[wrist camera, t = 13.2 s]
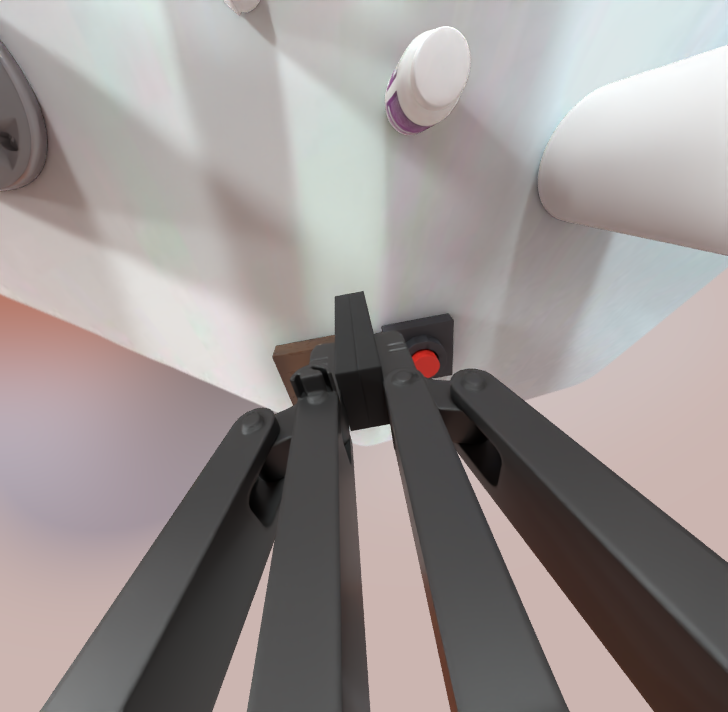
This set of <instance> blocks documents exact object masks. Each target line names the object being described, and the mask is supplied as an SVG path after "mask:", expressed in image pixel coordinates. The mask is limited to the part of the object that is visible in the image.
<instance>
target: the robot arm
mask: <svg viewBox="0 0 728 712" xmlns="http://www.w3.org/2000/svg"><path fill="white" fill-rule="evenodd" d="M46 155H47V133H46V128H45V123H44V119H43V115H42V113H41V110H40V107H39V104H38V102H37V99H36V97H35V95H34V92H33V90H32V88H31V86H30V85H29V83H28V81H27V79H26V77H25V75H24V74H23V72H22V70H21V69H20V67H19V66H18V64H17V63H16V61H15V60H14V58H13V57H12V55H11V54H10V52H9V51H8V50H7V48H6V47H5V46H4V44H3V43H2V42H1V41H0V191H7V190H14V189H18V188H21V187H23V186H26V185H28V184H29V183H31V182H32V181H33V180H34V179H35V178H36V177H37V176H38V175H39V174H40V172H41V170H42V168H43V166H44V163H45V160H46ZM290 382H291V385H292V387H293V390H294V392H295V394H296V397H297V399H298V400H297V403H296V404H295V405H294V406H292V407H290V408H288V409H286V410H284V411H281V412H279V413H277V414H274V413H273V411H271V410H270V409H268V408H257V409H254V410H251V411H249V412H247V413H245V414H244V415H242V416H241V417H240V418H239V419H238V420H237V421H236V422H235V423H234V425H233V426H232V428H231V429H230V430H229V432H228V434H227V435H226V436H225V438H224V439H223V441H222V442H221V444H220V445H219V447H218V448H217V450H216V451H215V453H214V454H213V456H212V457H211V459H210V460H209V462H208V463H207V465H206V466H205V467H204V469H203V470H202V472H201V473H200V475H199V476H198V478H197V479H196V481H195V482H194V484H193V485H192V487H191V488H190V490H189V491H188V493H187V494H186V496H185V497H184V499H183V500H182V502H181V503H180V504H179V506H178V508H177V509H176V510H175V512H174V513H173V515H172V516H171V518H170V519H169V521H168V522H167V524H166V525H165V527H164V528H163V530H162V531H161V533H160V534H159V536H158V537H157V539H156V540H155V542H154V543H153V545H152V546H151V547H150V549H149V551H148V552H147V553H146V555H145V556H144V558H143V559H142V561H141V562H140V564H139V565H138V567H137V568H136V570H135V571H134V573H133V574H132V576H131V577H130V579H129V580H128V582H127V583H126V585H125V586H124V588H123V589H122V591H121V592H120V593H119V595H118V596H117V598H116V600H115V601H114V602H113V604H112V605H111V607H110V608H109V610H108V611H107V613H106V614H105V616H104V617H103V619H102V620H101V622H100V623H99V625H98V626H97V628H96V629H95V630H94V632H93V633H92V635H91V636H90V638H89V639H88V641H87V642H86V644H85V645H84V647H83V648H82V650H81V651H80V653H79V654H78V656H77V657H76V659H75V660H74V662H73V663H72V665H71V666H70V668H69V669H68V671H67V672H66V673H65V675H64V676H63V678H62V679H61V681H60V682H59V684H58V685H57V687H56V688H55V690H54V691H53V693H52V694H51V696H50V697H49V699H48V700H47V702H46V703H45V705H44V706H43V708H42V709H41V710H40V712H212V710H213V708H214V705H215V702H216V699H217V697H218V694H219V691H220V688H221V686H222V683H223V680H224V677H225V675H226V672H227V669H228V666H229V664H230V661H231V658H232V655H233V653H234V650H235V647H236V644H237V642H238V639H239V636H240V633H241V631H242V628H243V625H244V622H245V620H246V617H247V614H248V611H249V609H250V606H251V603H252V600H253V598H254V595H255V592H256V590H257V587H258V584H259V581H260V579H261V576H262V573H263V570H264V568H265V565H266V562H267V559H268V557H269V554H270V551H271V548H272V546H273V543H274V548H273V555H272V560H271V566H270V572H269V579H268V585H267V592H266V597H265V603H264V609H263V616H262V622H261V628H260V634H259V641H258V647H257V653H256V659H255V665H254V671H253V678H252V684H251V690H250V696H249V702H248V709H247V712H370V701H369V687H368V686H369V685H368V670H367V657H366V656H367V655H366V641H365V627H364V610H363V596H362V583H361V582H362V581H361V567H360V551H359V536H358V522H357V507H356V491H355V478H354V461H353V446H352V441H351V437H350V432H349V426H350V430H351V431H354V430H359V429H365V428H370V427H376V426H381V425H387V424H390V426H391V432H392V438H393V444H394V449H395V452H396V456H397V461H398V466H399V471H400V475H401V480H402V484H403V489H404V494H405V499H406V503H407V508H408V513H409V517H410V522H411V527H412V531H413V536H414V541H415V546H416V550H417V555H418V560H419V564H420V569H421V574H422V578H423V583H424V588H425V592H426V597H427V602H428V607H429V611H430V616H431V620H432V625H433V630H434V634H435V639H436V644H437V649H438V653H439V658H440V663H441V667H442V672H443V676H444V682H445V686H446V691H447V696H448V700H449V705H450V710H451V712H570V711H569V709H568V707H567V705H566V703H565V701H564V698H563V696H562V694H561V691H560V689H559V687H558V684H557V682H556V680H555V677H554V675H553V673H552V671H551V668H550V666H549V664H548V661H547V659H546V657H545V654H544V652H543V650H542V647H541V645H540V643H539V640H538V638H537V636H536V634H535V632H534V629H533V627H532V624H531V622H530V620H529V617H528V615H527V613H526V611H525V608H524V606H523V604H522V601H521V599H520V597H519V594H518V592H517V590H516V587H515V585H514V583H513V581H512V578H511V576H510V574H509V571H508V569H507V567H506V564H505V562H504V560H503V557H502V555H501V553H500V550H499V548H498V546H497V544H496V541H495V539H494V537H493V534H492V532H491V530H490V527H489V525H488V523H487V521H486V518H485V516H484V513H483V511H482V509H481V507H480V504H479V502H478V500H477V497H476V495H475V493H474V490H473V488H472V486H471V483H470V481H469V479H468V476H467V474H466V472H465V470H464V468H463V465H462V463H461V460H460V458H459V456H458V454H459V455H460V456H461V458H462V459H463V460H464V462H465V463H466V464H467V466H468V467H469V468H470V469H471V471H472V472H473V473H474V475H475V476H476V477H477V479H478V480H479V481H480V483H481V484H482V485H483V487H484V488H485V489H486V490H487V492H488V493H489V495H490V496H491V497H492V499H493V500H494V501H495V502H496V504H497V505H498V506H499V508H500V509H501V510H502V512H503V513H504V514H505V516H506V517H507V518H508V520H509V521H510V522H511V523H512V525H513V526H514V528H515V529H516V530H517V531H518V533H519V534H520V535H521V537H522V538H523V539H524V541H525V542H526V543H527V545H528V546H529V547H530V549H531V550H532V551H533V553H534V554H535V555H536V557H537V558H538V559H539V560H540V562H541V563H542V564H543V566H544V567H545V568H546V570H547V571H548V572H549V574H550V575H551V576H552V577H553V579H554V580H555V582H556V583H557V584H558V586H559V587H560V588H561V590H562V591H563V592H564V593H565V595H566V596H567V597H568V599H569V600H570V601H571V603H572V604H573V605H574V607H575V608H576V609H577V611H578V612H579V613H580V615H581V616H582V617H583V619H584V620H585V621H586V622H587V624H588V625H589V626H590V628H591V629H592V630H593V632H594V633H595V634H596V635H597V637H598V638H599V639H600V641H601V642H602V644H603V645H604V646H605V648H606V649H607V650H608V652H609V653H610V654H611V655H612V657H613V658H614V659H615V661H616V662H617V663H618V665H619V666H620V667H621V669H622V670H623V671H624V673H625V674H626V675H627V676H628V678H629V679H630V680H631V682H632V683H633V684H634V686H635V687H636V688H637V690H638V691H639V692H640V693H641V695H642V696H643V698H644V699H645V700H646V702H647V703H648V704H649V706H650V707H651V708H652V709H653V711H654V712H728V562H726V561H725V560H724V559H722V558H721V557H720V556H719V555H717V554H716V553H715V552H714V551H712V550H711V549H710V548H708V547H707V546H706V545H705V544H704V543H702V542H701V541H700V540H699V539H697V538H696V537H695V536H694V535H692V534H691V533H690V532H689V531H687V530H686V529H685V528H684V527H682V526H681V525H680V524H678V523H677V522H676V521H675V520H673V519H672V518H671V517H670V516H668V515H667V514H666V513H665V512H663V511H662V510H661V509H660V508H658V507H657V506H656V505H654V504H653V503H652V502H651V501H649V500H648V499H647V498H646V497H644V496H643V495H642V494H641V493H639V492H638V491H637V490H636V489H635V488H633V487H632V486H631V485H629V484H628V483H627V482H626V481H624V480H623V479H622V478H621V477H619V476H618V475H617V474H616V473H614V472H613V471H612V470H610V469H609V468H608V467H607V466H606V465H604V464H603V463H602V462H601V461H599V460H598V459H597V458H596V457H594V456H593V455H592V454H590V453H589V452H588V451H587V450H585V449H584V448H583V447H582V446H580V445H579V444H578V443H577V442H575V441H574V440H573V439H572V438H570V437H569V436H568V435H567V434H565V433H564V432H563V431H561V430H560V429H559V428H558V427H557V426H555V425H554V424H553V423H551V422H550V421H549V420H548V419H547V418H545V417H544V416H543V415H541V414H540V413H539V412H538V411H536V410H535V409H534V408H533V407H531V406H530V405H529V404H528V403H526V402H525V401H524V400H523V399H521V398H520V397H519V396H518V395H516V394H515V393H514V392H513V391H511V390H510V389H509V388H508V387H506V386H505V385H504V384H503V383H501V382H500V381H499V380H498V379H496V378H495V377H494V376H492V375H491V374H489V373H487V372H486V371H482V370H478V369H465V370H460V371H458V372H456V373H455V374H454V375H453V376H452V378H451V381H443V380H433V379H429V378H426V377H424V375H423V374H422V373H421V372H420V371H419V370H417V369H416V366H415V364H414V362H413V359H412V357H411V354H410V352H409V350H408V347H407V345H406V343H405V340H404V338H403V335H402V334H400V333H399V332H398V331H396V330H392V331H386V332H381V333H376V334H374V333H373V329H372V325H371V321H370V316H369V312H368V308H367V304H366V300H365V296H364V291H361V292H356V293H351V294H345V295H340V296H335V342H332V343H327V344H321V345H316V346H315V348H314V349H313V350H312V352H311V353H310V362H309V365H306V366H304V367H302V368H300V369H298V370H297V371H296V372H295V373H294V374H293V375H292V376H291V378H290ZM457 452H458V453H457ZM274 540H275V542H274Z"/></svg>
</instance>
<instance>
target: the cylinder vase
mask: <svg viewBox="0 0 728 712" xmlns="http://www.w3.org/2000/svg"><path fill="white" fill-rule="evenodd" d="M538 191H539V196H540V200H541V202H542V204H543V206H544V208H545V209H546V211H547V212H548V213H549V214H550V215H552V216H553V217H555V218H556V219H559V220H561V221H565V222H570V223H575V224H580V225H584V226H589V227H594V228H599V229H603V230H608V231H613V232H618V233H622V234H627V235H632V236H637V237H641V238H646V239H651V240H655V241H660V242H665V243H670V244H674V245H679V246H684V247H689V248H693V249H698V250H703V251H708V252H712V253H717V254H722V255H727V256H728V45H725V46H722V47H719V48H716V49H713V50H710V51H707V52H704V53H701V54H698V55H695V56H692V57H689V58H686V59H683V60H680V61H677V62H673V63H670V64H667V65H664V66H661V67H658V68H655V69H652V70H649V71H646V72H643V73H640V74H637V75H634V76H631V77H628V78H625V79H622V80H619V81H615V82H612V83H609V84H607V85H604V86H602V87H600V88H598V89H596V90H595V91H593V92H591V93H590V94H588V95H587V96H586V97H584V98H583V99H582V100H581V101H579V102H578V103H577V104H576V105H575V106H574V107H573V108H572V109H571V110H570V111H569V112H568V113H567V114H566V116H565V117H564V118H563V119H562V121H561V122H560V123H559V125H558V126H557V128H556V129H555V131H554V132H553V134H552V136H551V138H550V139H549V141H548V143H547V146H546V148H545V150H544V153H543V156H542V159H541V163H540V167H539V173H538Z"/></svg>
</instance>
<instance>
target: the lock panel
mask: <svg viewBox="0 0 728 712" xmlns="http://www.w3.org/2000/svg"><path fill="white" fill-rule="evenodd" d="M332 342H335V335H331V336H326V337H321V338H315V339H310V340H305V341H299V342H294V343H289V344H283V345H278V346H276V348H275V350H274V353H273V356H272V357H273V360H274V362H275V364H276V367H277V369H278V371H279V374H280V376H281V378H282V380H283V383H284V385H285V387H286V390H287V392H288V394H289V397H290V399H291V401H292V404H293V406H294V405H295V404H296V403H297V400H298V399H297V397H296V394H295V392H294V390H293V387H292V385H291V382H290V378H291V376H292V375H293V374H294V373H295V372H296V371H297V370H298V369H300V368H302V367H304V366H306V365H309V362H310V353H311V352H312V350H313V349H314V348H315V346H316V345H321V344H327V343H332Z"/></svg>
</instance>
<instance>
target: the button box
mask: <svg viewBox="0 0 728 712" xmlns="http://www.w3.org/2000/svg"><path fill="white" fill-rule="evenodd" d="M453 324H454V320H453V319H452V317H451V316H450V315H449V314H443V315H438V316H432V317H427V318H422V319H416V320H411V321H406V322H400V323H395V324H390V325H384V326H382V332H386V331H392V330H396V331H398V332H399V333H400V334H402V335H403V338H404V340H405V343H406V345H407V347H408V350H409V352H410V354H411V356H412V355H413V354H414V353H415V352H417V351H419V350H423V349H427V350H431V351H433V352H434V353H435V355H436V357H437V359H438V360H439V363H440V368H439V370H438V372H437V373H436V374H435V375H434V376H432V377H430V378H429V379H432V378H438V377H443V376H449V375H452V364H453Z"/></svg>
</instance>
